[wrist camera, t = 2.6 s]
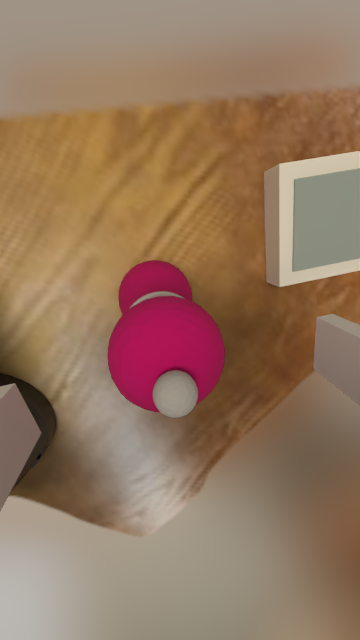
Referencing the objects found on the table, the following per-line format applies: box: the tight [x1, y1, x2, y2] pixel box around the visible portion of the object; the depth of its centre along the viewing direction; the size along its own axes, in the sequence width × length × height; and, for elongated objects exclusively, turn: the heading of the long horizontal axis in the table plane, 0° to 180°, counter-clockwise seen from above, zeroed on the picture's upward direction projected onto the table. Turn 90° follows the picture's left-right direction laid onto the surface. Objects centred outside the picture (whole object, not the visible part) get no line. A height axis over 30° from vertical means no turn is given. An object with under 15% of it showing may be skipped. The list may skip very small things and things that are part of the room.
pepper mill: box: [108, 260, 225, 418], centre depth 17 cm, size 7×7×20 cm
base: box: [264, 151, 360, 287], centre depth 25 cm, size 12×12×3 cm
